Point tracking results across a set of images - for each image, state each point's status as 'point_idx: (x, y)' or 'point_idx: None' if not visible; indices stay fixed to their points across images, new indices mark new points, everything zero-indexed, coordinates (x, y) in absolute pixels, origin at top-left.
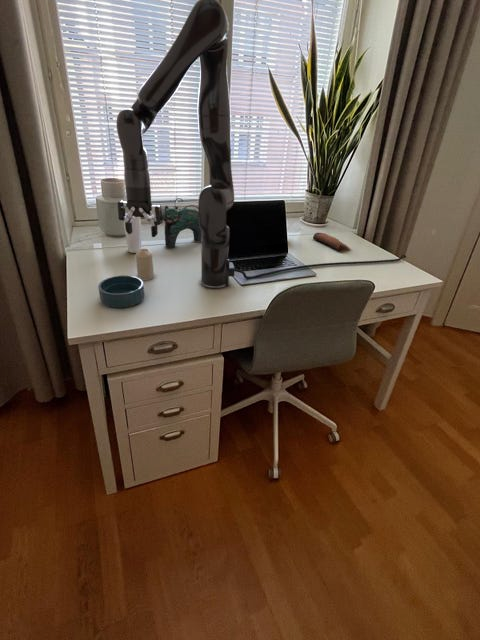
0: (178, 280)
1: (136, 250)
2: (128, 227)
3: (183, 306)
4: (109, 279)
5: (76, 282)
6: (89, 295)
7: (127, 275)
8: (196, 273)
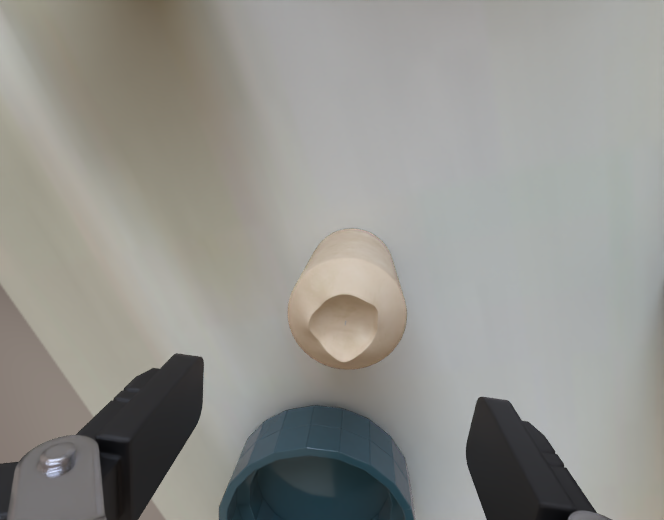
0: (532, 279)
1: None
2: (158, 475)
3: None
4: (239, 482)
5: (79, 372)
6: (189, 463)
7: (308, 448)
8: (636, 167)
